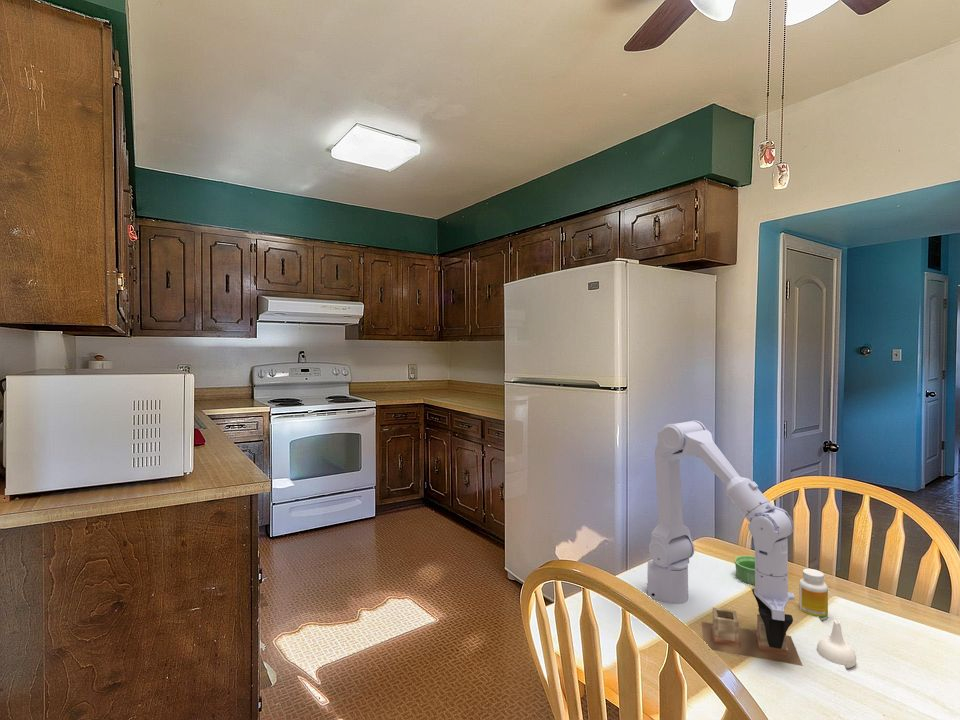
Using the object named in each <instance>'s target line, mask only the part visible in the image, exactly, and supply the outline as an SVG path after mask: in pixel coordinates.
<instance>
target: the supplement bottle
mask: <svg viewBox="0 0 960 720" xmlns="http://www.w3.org/2000/svg"><path fill="white" fill-rule="evenodd" d="M802 577H803V578H802ZM802 577H801V579H800V580H799V583H798V585H799V586H798V587H799V597H798V598H799V600H798V601H799V604H798V605H799V609H800V611H802V612H803V613H805V614H807V615H810V616H813V617H817V618H818V619H819V620H820V621H825V620H827V619H828V618H829V617H828V616H829V606H828V605H829V592H828V591H829V587H828V584H827V583H825V574H824V572H822V571H821V570H817V569H814V568H804V569H803V570H802Z"/></svg>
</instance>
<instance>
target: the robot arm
mask: <svg viewBox="0 0 960 720" xmlns="http://www.w3.org/2000/svg"><path fill="white" fill-rule="evenodd" d="M684 456H689V457H691V456H692V457H695V458H699V459H701V460H702V462H703V463H704V464H705V465H706V466H707V467H708V468H709V469H710V470H711V472H713V473H714V474H715V476H717V477H718V479H719V480H721V482H722V483H723V484H724V485H725V486H726V489H725V493H726V496H727V497H728V498H729V499H730V500H731V502H732V503H733V505H734V506H735V507H736V508H737V509H738V510H739V512H740V513H741V514H742V515H743V517H744V518H745V519H746V520H747V522H748V524H747V529H748V531H749V534H750V535H751V536H752V538H753V546H754V556H755V585H754V588H752V589H751V591H752V594H753V596H754V598H755V600H756V603H757V606H758V609H757V610H758V614H759V615H760V616H761V618H762V620H763V622H764V625H765V630H766V636H767V641H768V644H769V647H773V648H779V649H781V648H782V645H783V641H784V637H785V634H786V635H787V632H788V630H789V628H790V626H791V625H792V624H793V622H794V618H793V616H792V614H787V613H785V609H786V607H787V605H788V604H789V603H788V602H789V601H795V600H796V596H795V593H793V592H789V565H788V563H789V561H788V560H789V557H788V556H789V555H788V554H789V550H788V549H789V547H788V546H789V542H788V540H789V539H788V537H789V536H790V535H791V534H792V533H793V532H794V529H795V528H794V526H795V525H794V521H793V518H792V517H791V516H790V515H789V513H788V511H786V509H783V508H781V507H777V506H776V505H775V504H774V503H773V502H771V501H770V500H769V499H768V498H767V497H766V495H764V494H763V492H762V491H761V490H760V489H759V485H758V484H757V483H756V481H752V480H751V478H748V477H743V476H740V474H739V473H738V471H736V469H735V468H734V467H733V465H732V464H731V463H730V462H729V460H728V459H727V457H726V455H724V454H723V452H722V451H721V449H720V448H719V447H718V446H717V444H716V443H715V441H714V439H713V434H712V432H710V431H709V429H707V428H706V426H705V424H704V423H702V422H701V421H698V420H695V419H692V420H689V421H685V422H684V421H683V422H679V423H668V424H665V425H664V426H663V427H661V428H660V429H659V430H658V431H657V442H656V446H655V450H654V457H655V458H654V460H655V461H654V462H655V479H656V496H657V497H656V499H657V513H658V524H657V525H656V527H654V529H653V530H652V531H651V534H650V536H651V537H650V538H651V539H650V543H649V545H648V552H649V556H650V559H651V560H647V583H646V592H647V596H648V595H649V596H650V597H651V598H652V599H651V600H655V601H656V600H657V601H662V602H665V603H669V604H674V605H677V604H678V605H679V604H684V603H686V602H688V600H689V564H690V559H691V558H692V557H693V556H694V554H695V544H694V542H693V539H692V537H691V536H692V535H691V530H690V528H688V527H687V526H686V525H684V521H683V520H684V517H683V500H682V497H683V496H682V485H681V484H682V483H681V482H682V481H681V466H680V465H681V464H680V460H681V458H683V457H684ZM653 594H654V595H653Z"/></svg>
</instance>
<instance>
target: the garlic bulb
mask: <svg viewBox="0 0 960 720" xmlns="http://www.w3.org/2000/svg"><path fill="white" fill-rule="evenodd" d="M841 623H842V622H841V621H840V620H837V619H833V624H832V630H831V634H830V636H824V637H823V638H820V639H819V640H818V642H817V645H816V651H817V653H818V654H819V655H820V656H821V657H822V658H823V659H825V660H827V661H829V662H831V663H835V664H839V665H842V666H844V668H845V669H850V668H853V667H854V666H855V665H856V663H857V654H856V652H855V650H854V649H853V647H852V646H851V645H850V644H849V643H847V642H846V640H844V637H843V636H844V635H843V630H842V626H841Z"/></svg>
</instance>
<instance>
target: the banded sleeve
mask: <svg viewBox="0 0 960 720" xmlns="http://www.w3.org/2000/svg"><path fill="white" fill-rule="evenodd" d="M756 631H757V632H756V641H757V644H758V648H759V650H760V651H764V652H769V653H775V654H781V655H788V649H787V646H786V635H787V633H786V634H785V637H784V641H783V645H782V648H781V649H779V648H773V647H769V644H768V641H767V636H766V630H765V625H764V622H763V620H762V618H761V616H760V614H759V613H757V614H756Z"/></svg>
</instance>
